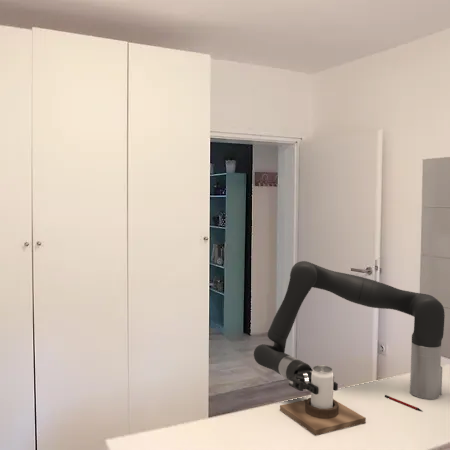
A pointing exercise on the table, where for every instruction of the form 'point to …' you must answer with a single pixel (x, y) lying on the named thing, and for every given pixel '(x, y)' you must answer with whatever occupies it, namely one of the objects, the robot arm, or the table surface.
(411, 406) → the pencil
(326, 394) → the can
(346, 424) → the socket board
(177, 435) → the table surface
